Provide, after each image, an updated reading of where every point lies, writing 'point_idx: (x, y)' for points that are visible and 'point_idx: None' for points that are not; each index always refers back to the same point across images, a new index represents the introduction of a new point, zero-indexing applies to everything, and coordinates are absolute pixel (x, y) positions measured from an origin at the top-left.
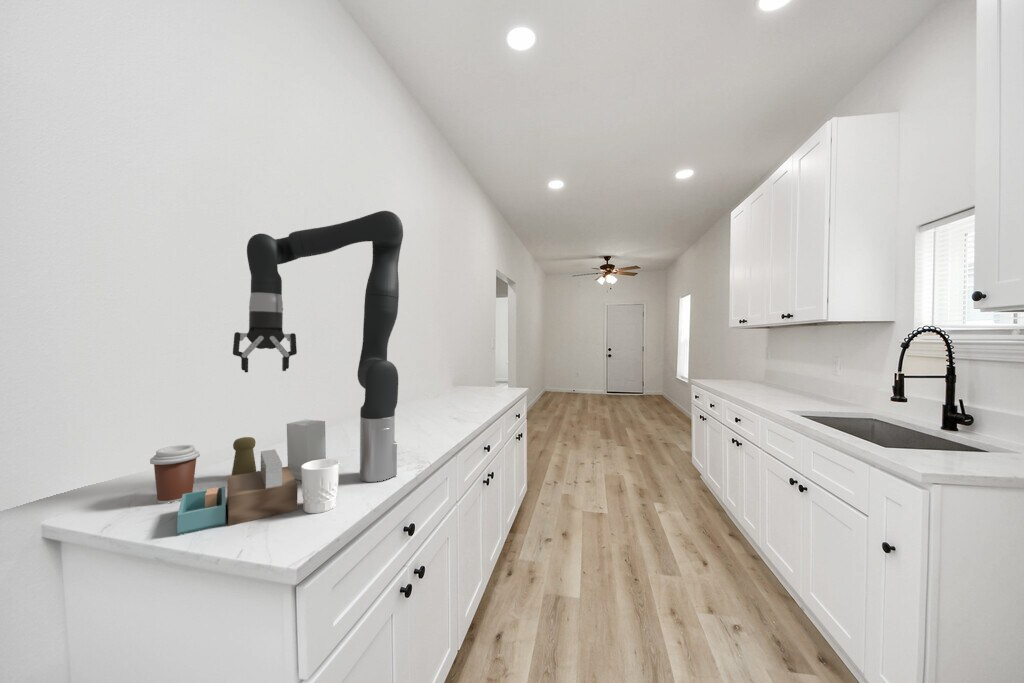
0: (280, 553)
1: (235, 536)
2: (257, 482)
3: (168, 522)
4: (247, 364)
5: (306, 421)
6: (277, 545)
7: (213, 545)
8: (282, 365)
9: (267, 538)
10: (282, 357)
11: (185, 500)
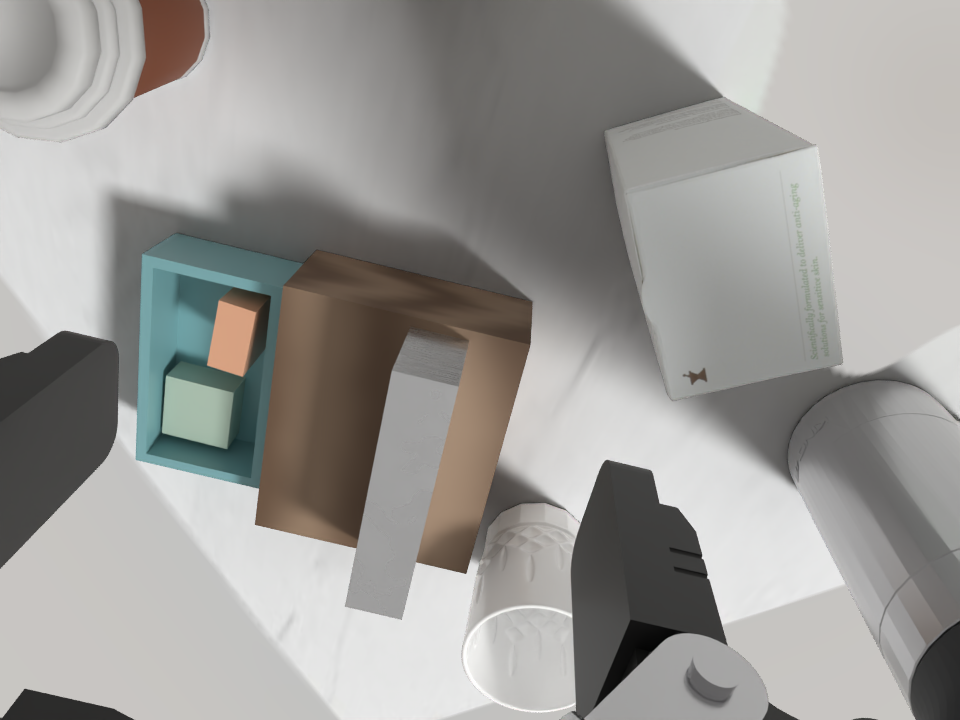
0: (354, 686)
1: (292, 542)
2: (361, 460)
3: (140, 298)
4: (32, 522)
5: (747, 271)
6: (360, 653)
7: (241, 549)
8: (604, 533)
9: (352, 608)
10: (622, 637)
11: (159, 289)
